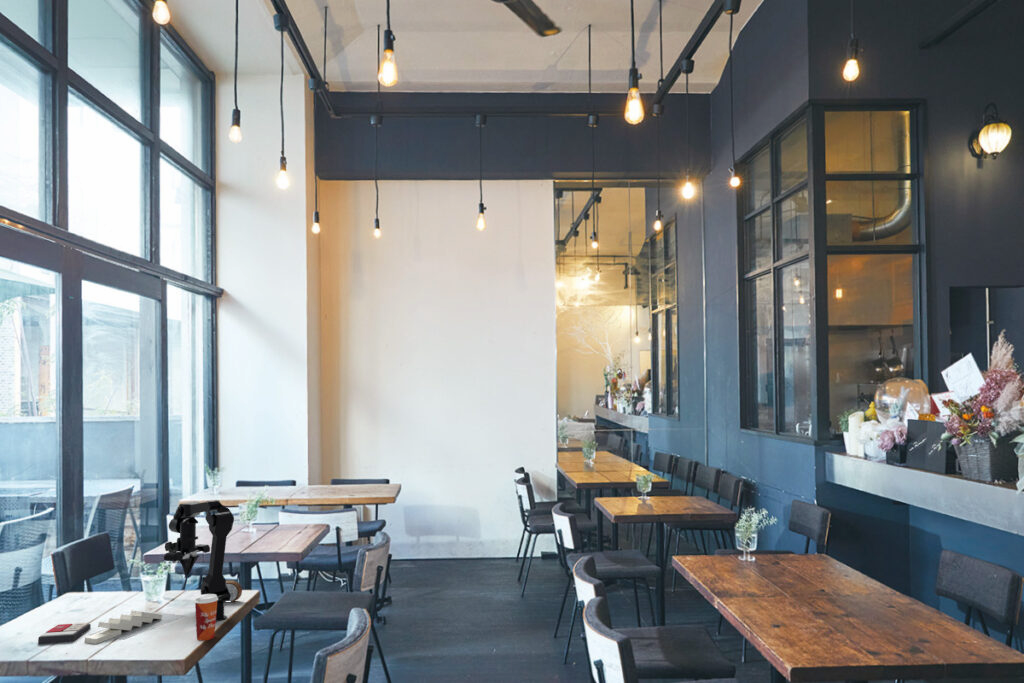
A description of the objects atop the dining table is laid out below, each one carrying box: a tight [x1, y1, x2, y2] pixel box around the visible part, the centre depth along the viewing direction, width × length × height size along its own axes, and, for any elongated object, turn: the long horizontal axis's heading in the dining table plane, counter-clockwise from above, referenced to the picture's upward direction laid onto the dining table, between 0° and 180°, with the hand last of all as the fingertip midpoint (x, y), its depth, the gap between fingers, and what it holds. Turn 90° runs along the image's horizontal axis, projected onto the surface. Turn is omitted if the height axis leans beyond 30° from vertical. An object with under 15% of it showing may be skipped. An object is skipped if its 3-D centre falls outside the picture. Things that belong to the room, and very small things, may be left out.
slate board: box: [89, 611, 186, 641], centre depth 261 cm, size 28×16×1 cm, turn 161°
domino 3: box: [107, 617, 142, 627], centre depth 256 cm, size 2×5×10 cm
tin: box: [217, 579, 243, 603], centre depth 294 cm, size 15×3×8 cm, turn 84°
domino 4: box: [119, 614, 153, 623], centre depth 260 cm, size 2×5×10 cm
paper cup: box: [193, 594, 218, 642], centre depth 249 cm, size 8×8×14 cm
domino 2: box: [97, 621, 132, 631], centre depth 252 cm, size 2×5×10 cm
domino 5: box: [129, 610, 162, 619], centre depth 264 cm, size 2×5×10 cm
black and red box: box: [37, 622, 92, 645], centre depth 250 cm, size 11×4×15 cm
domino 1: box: [84, 628, 121, 645], centre depth 247 cm, size 2×5×10 cm
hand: (187, 574), depth 285 cm, fingers closed
